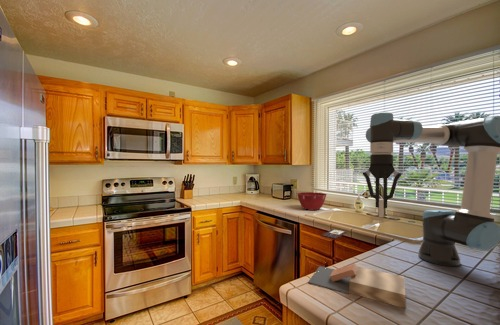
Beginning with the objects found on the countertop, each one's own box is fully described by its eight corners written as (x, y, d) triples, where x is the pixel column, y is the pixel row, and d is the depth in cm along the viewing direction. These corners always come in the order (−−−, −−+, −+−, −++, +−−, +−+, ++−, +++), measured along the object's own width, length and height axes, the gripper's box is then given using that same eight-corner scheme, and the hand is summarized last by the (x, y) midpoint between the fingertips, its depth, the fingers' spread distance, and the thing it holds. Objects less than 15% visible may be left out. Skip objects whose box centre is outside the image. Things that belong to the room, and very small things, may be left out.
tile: (357, 268, 87) (354, 263, 88) (355, 275, 82) (352, 269, 83) (335, 275, 91) (333, 270, 92) (332, 281, 86) (329, 276, 87)
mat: (355, 275, 92) (355, 274, 92) (348, 294, 79) (348, 293, 79) (319, 266, 100) (319, 266, 100) (308, 283, 86) (308, 281, 86)
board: (403, 287, 83) (403, 276, 83) (405, 308, 71) (405, 295, 71) (354, 276, 91) (354, 266, 91) (349, 292, 79) (349, 281, 79)
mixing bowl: (291, 209, 230) (291, 193, 230) (305, 205, 252) (305, 191, 252) (319, 213, 212) (319, 196, 212) (330, 208, 233) (330, 193, 233)
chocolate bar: (321, 235, 143) (332, 229, 157) (321, 236, 143) (332, 230, 157) (335, 238, 137) (346, 231, 151) (335, 239, 137) (346, 233, 151)
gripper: (361, 154, 88) (361, 216, 88) (402, 153, 81) (402, 220, 81) (363, 154, 95) (363, 212, 94) (401, 154, 88) (401, 216, 88)
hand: (381, 216), depth 88 cm, fingers closed
